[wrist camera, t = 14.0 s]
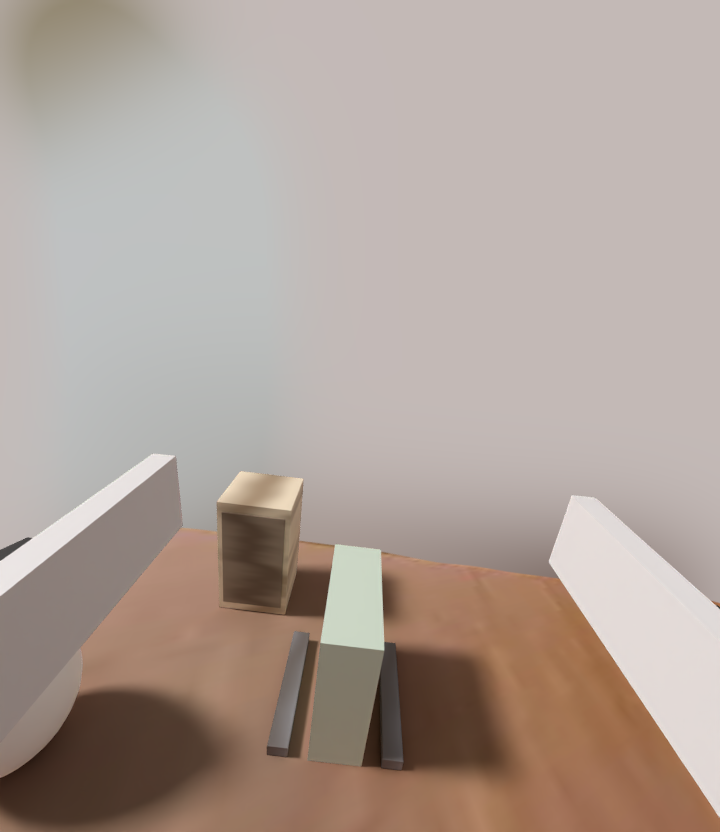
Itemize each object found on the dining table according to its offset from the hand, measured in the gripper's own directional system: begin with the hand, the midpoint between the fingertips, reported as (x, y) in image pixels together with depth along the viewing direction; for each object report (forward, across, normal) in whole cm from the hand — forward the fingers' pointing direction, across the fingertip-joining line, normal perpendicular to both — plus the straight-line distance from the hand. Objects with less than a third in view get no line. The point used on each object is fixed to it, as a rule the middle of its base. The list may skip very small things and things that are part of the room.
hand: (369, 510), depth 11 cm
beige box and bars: (+14, -4, -26) cm, 30 cm away
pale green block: (+10, 0, -26) cm, 28 cm away
